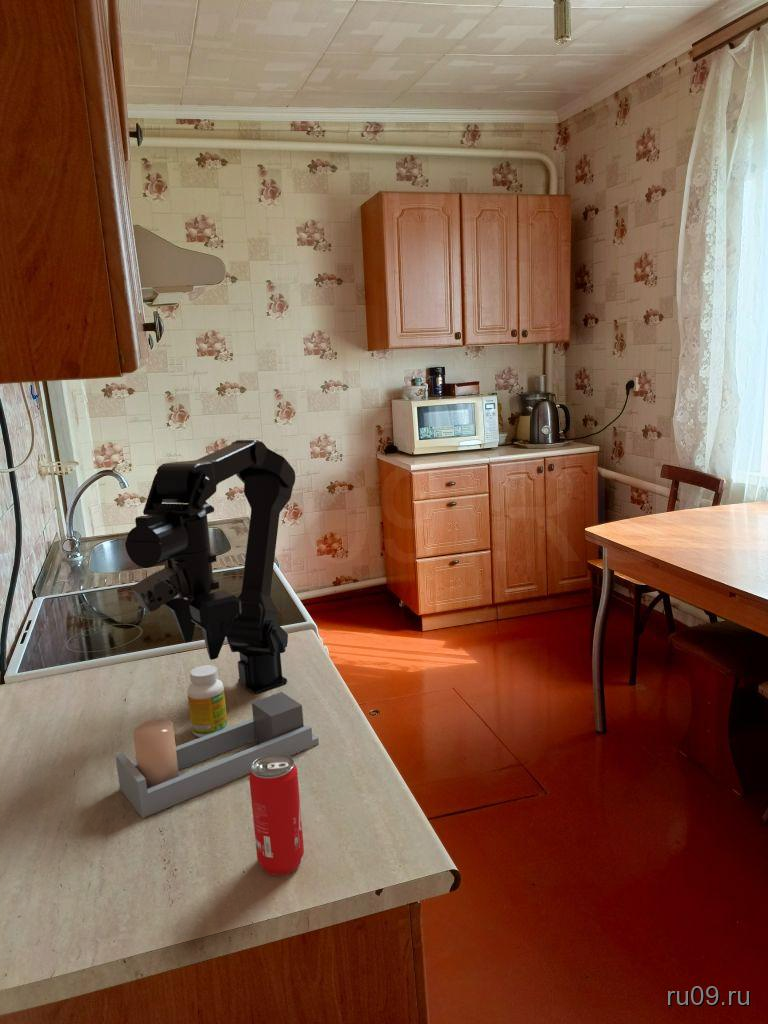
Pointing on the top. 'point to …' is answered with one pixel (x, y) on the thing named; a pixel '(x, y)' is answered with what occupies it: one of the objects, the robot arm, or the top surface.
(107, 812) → the top surface
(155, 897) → the top surface
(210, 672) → the supplement bottle
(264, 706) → the block
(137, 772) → the tray
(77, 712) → the top surface
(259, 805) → the beverage can
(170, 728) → the jar
